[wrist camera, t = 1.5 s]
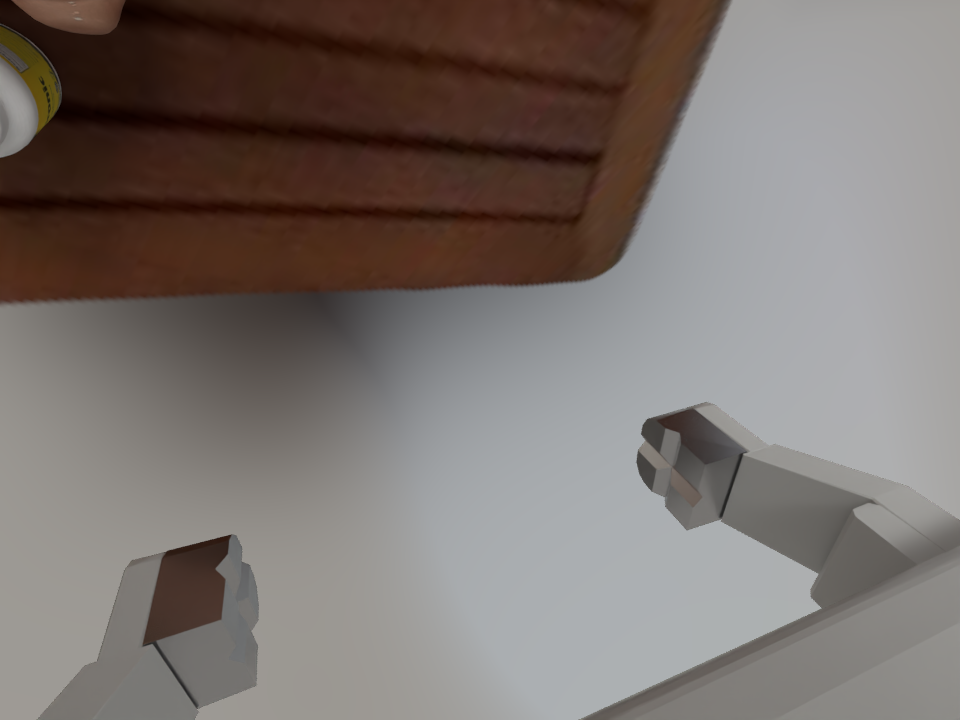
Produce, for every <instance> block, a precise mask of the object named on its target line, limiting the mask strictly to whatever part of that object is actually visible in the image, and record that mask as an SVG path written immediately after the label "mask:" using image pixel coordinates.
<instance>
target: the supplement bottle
mask: <svg viewBox="0 0 960 720" xmlns="http://www.w3.org/2000/svg"><path fill="white" fill-rule="evenodd" d="M61 96H62V92H61V84H60V81H59V78H58V75H57V73H56V71H55V69H54V67H53V65H52V64H51V62H50V61H49V59H48V58H47V57H46V56H45V55H44V53H43V52H42V51H41V50H40V49H39V48H38V47H37V46H36V45H35V44H33V43H32V42H31V41H30V40H28V39H27V38H26V37H24V36H23V35H21V34H20V33H18V32H16V31H15V30H13V29H11V28H9V27H7V26H5V25H2V24H0V158H1V157H5V156H9V155H12V154H14V153H16V152H18V151H20V150H21V149H23V148H24V147H25V146H27V145H28V144H29V143H30V141H31V140H32V139H33V138H34V137H35V136H36V135H37V134H38V132H39V131H40V130H41V129H42V128H43V127H44V126H45V125H46V124H47V123H48V122H49V121H50V119H51V118H52V117H53V116H54V115H55V113H56V112H57V110H58V108H59V106H60V103H61Z"/></svg>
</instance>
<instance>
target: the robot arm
mask: <svg viewBox="0 0 960 720" xmlns="http://www.w3.org/2000/svg"><path fill="white" fill-rule="evenodd" d="M641 435H642V436H643V438H644V439H645V442H644V443H643V444H642V446H641V447H640V448H639V449H638V454H637V466H638V470H639V474H640V476H641V478H642V480H643V481H644V483H645V484H646V485H647V487H648V488H649V489H650V490H651V491H652V492H654V493H656V494H659V495H661V496H663V497H665V507H666V508H667V509H668V510H669V511H670V512H671V513H672V514H673V516H674V517H675V518H676V519H677V520H678V521H679V522H680V523H681V524H682V525H683V526H684V528H685V529H686V530H689V529H693V528H695V527H699V526H702V525H705V524H708V523H711V522H714V521H717V520H720V519H722V520H721V522H723V523H725V524H727V525H729V526H731V527H732V528H734V529H736V530H738V531H740V532H742V533H744V534H745V535H748V536H749V537H751V538H753V539H755V540H757V541H759V542H760V543H762V544H764V545H766V546H768V547H770V548H772V549H774V550H775V551H777V552H779V553H781V554H783V555H785V556H787V557H788V558H790V559H792V560H794V561H796V562H798V563H800V564H802V565H803V566H805V567H807V568H809V569H811V570H813V571H815V572H816V573H818V574H819V575H818V577H817V578H816V580H815V582H814V584H813V586H812V588H811V598H812V599H813V600H815V602H816V603H817V604H818V605H819V606H820V607H821V608H822V609H820V610H818V611H816V612H813V613H811V614H809V615H807V616H805V617H802V618H800V619H798V620H796V621H794V622H792V623H789V624H787V625H785V626H783V627H780V628H778V629H776V630H774V631H772V632H770V633H767V634H765V635H763V636H761V637H759V638H756V639H754V640H752V641H750V642H748V643H746V644H743V645H741V646H739V647H737V648H735V649H732V650H730V651H728V652H726V653H724V654H721V655H719V656H717V657H715V658H713V659H711V660H708V661H706V662H704V663H702V664H700V665H697V666H695V667H693V668H691V669H689V670H687V671H684V672H682V673H680V674H678V675H676V676H673V677H671V678H669V679H667V680H665V681H663V682H660V683H658V684H656V685H654V686H652V687H649V688H647V689H645V690H643V691H641V692H638V693H636V694H634V695H632V696H630V697H628V698H625V699H623V700H621V701H619V702H617V703H614V704H612V705H610V706H608V707H606V708H603V709H601V710H599V711H597V712H595V713H593V714H591V715H588V716H586V717H584V718H582V719H580V720H960V520H959V519H957V518H955V517H954V516H952V515H951V514H949V513H948V512H946V511H945V510H943V509H942V508H940V507H939V506H937V505H936V504H934V503H933V502H931V501H930V500H928V499H927V498H925V497H924V496H922V495H921V494H919V493H917V492H916V491H914V490H913V489H911V488H910V487H908V486H906V485H903V484H900V483H896V482H893V481H890V480H887V479H884V478H880V477H878V476H874V475H871V474H868V473H865V472H862V471H858V470H855V469H852V468H849V467H846V466H843V465H839V464H836V463H833V462H830V461H827V460H824V459H820V458H817V457H814V456H811V455H808V454H805V453H802V452H798V451H795V450H792V449H789V448H786V447H783V446H779V445H776V444H773V445H770V446H769V445H767V444H766V443H765V442H763V441H762V440H761V439H759V438H758V437H756V436H755V435H754V434H753V433H752V432H750V431H749V430H748V429H746V428H745V427H744V426H742V425H741V424H740V423H738V422H737V421H736V420H734V419H733V418H732V417H730V416H729V415H727V414H726V413H725V412H724V411H722V410H721V409H720V408H718V407H717V406H716V405H714V404H711V403H708V402H705V403H701V404H698V405H694V406H691V407H687V408H686V409H681V410H677V411H674V412H670V413H667V414H663V415H660V416H656V417H653V418H649V419H647V420H646V422H645V423H644V424H643V427H642V432H641ZM241 560H242V546H241V544H240V542H239V540H238V538H237V536H236V535H228V536H224V537H220V538H216V539H212V540H208V541H204V542H200V543H196V544H192V545H189V546H185V547H181V548H177V549H173V550H169V551H167V552H164V553H160V554H156V555H152V556H148V557H144V558H140V559H136V560H132V561H131V562H130V563H129V565H128V566H127V567H126V569H125V570H124V573H123V576H122V580H121V583H120V587H119V590H118V593H117V596H116V600H115V603H114V606H113V610H112V613H111V616H110V620H109V623H108V626H107V629H106V633H105V636H104V639H103V643H102V646H101V649H100V653H99V656H98V659H97V662H94V663H91V664H88V665H85V666H84V667H83V668H82V669H81V671H80V672H79V673H78V674H77V675H76V676H75V677H74V678H73V680H72V681H71V682H70V683H69V684H68V685H67V686H66V687H65V689H64V690H63V691H62V692H61V693H60V694H59V695H58V696H57V698H56V699H55V700H54V701H53V702H52V703H51V704H50V705H49V707H48V708H47V709H46V710H45V711H44V712H43V713H42V714H41V716H40V717H39V718H38V719H37V720H195V718H196V716H197V714H198V710H197V709H198V708H201V707H203V706H206V705H208V704H211V703H214V702H216V701H219V700H221V699H224V698H226V697H229V696H232V695H234V694H237V693H239V692H242V691H244V690H247V689H249V688H252V687H255V686H256V679H257V650H258V645H257V643H256V641H255V639H254V636H253V634H252V632H251V630H252V629H253V628H254V626H255V624H256V623H257V621H258V610H259V607H258V606H259V605H258V595H257V586H256V583H255V579H254V575H253V572H252V570H251V567H250V565H248V564H246V563H243V562H242V561H241Z"/></svg>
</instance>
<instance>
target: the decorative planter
mask: <svg viewBox="0 0 960 720" xmlns="http://www.w3.org/2000/svg"><path fill="white" fill-rule="evenodd" d="M12 1H13V2H14V3H15V4H16V5H17V6H19V7H20V8H21V9H22V10H23V11H25V12H26V13H27V14H28V15H30V16H31V17H32V18H33V19H35V20H37V21H39V22H41V23H43V24H45V25H47V26H50V27H53V28H56V29H60V30H64V31H68V32H71V33H80V34H89V35H103V34H107V33H110V32H111V31H112V30H113V29H114V28H116V27H117V24H118V22H119V19H120V15H121V11H122V8H123V5H124V3H125V1H126V0H12Z"/></svg>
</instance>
